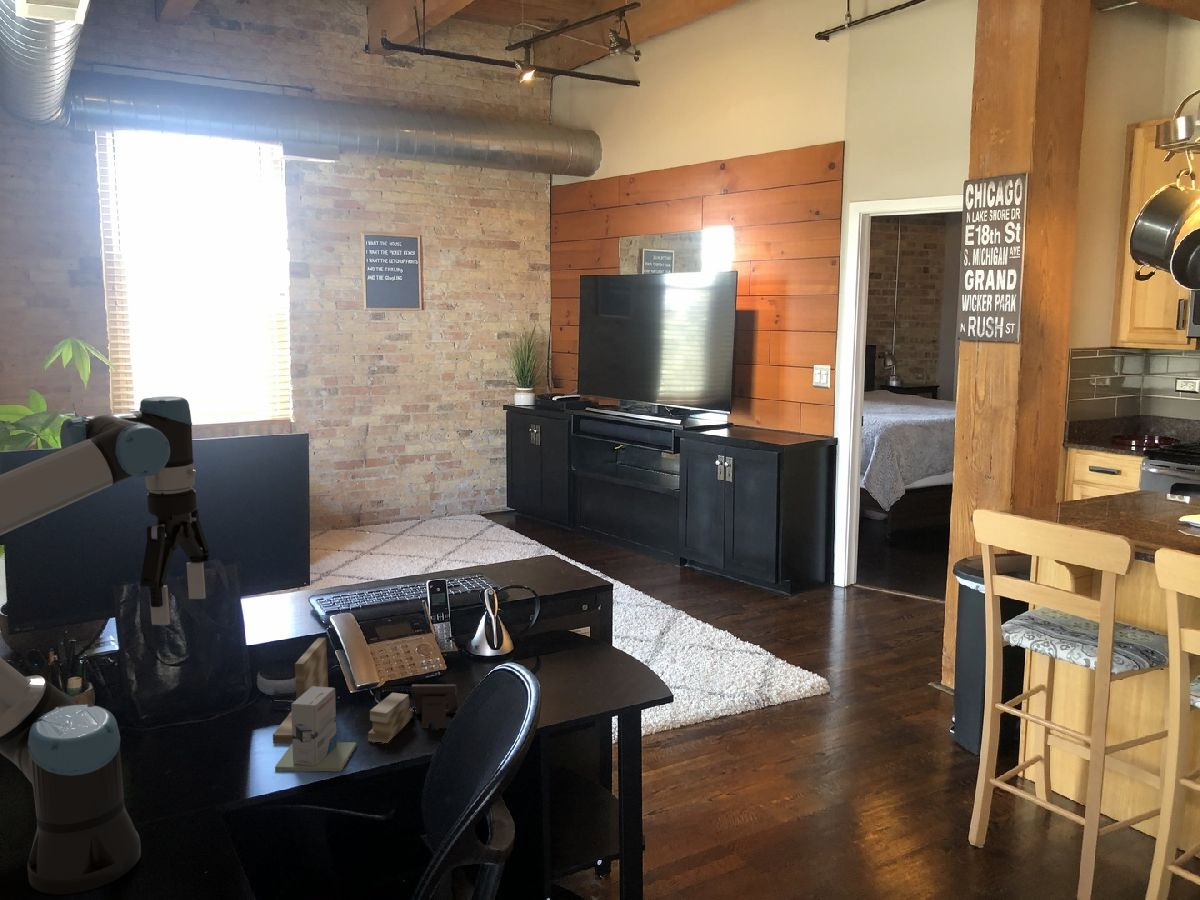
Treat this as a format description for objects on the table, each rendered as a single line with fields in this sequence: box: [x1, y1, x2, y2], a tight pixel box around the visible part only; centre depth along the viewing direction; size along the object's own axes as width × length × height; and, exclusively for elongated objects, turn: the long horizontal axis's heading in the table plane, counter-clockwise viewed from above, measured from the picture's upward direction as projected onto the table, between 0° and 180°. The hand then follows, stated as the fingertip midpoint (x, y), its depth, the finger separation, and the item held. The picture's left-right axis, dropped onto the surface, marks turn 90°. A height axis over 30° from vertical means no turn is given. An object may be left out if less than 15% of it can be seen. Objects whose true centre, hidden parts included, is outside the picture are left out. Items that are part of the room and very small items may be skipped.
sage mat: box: [274, 741, 357, 773], centre depth 182 cm, size 10×12×1 cm
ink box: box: [290, 686, 338, 766], centre depth 181 cm, size 9×5×12 cm, turn 169°
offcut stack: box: [367, 692, 414, 744], centre depth 194 cm, size 12×4×6 cm, turn 167°
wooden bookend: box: [272, 637, 329, 744], centre depth 194 cm, size 14×7×16 cm, turn 178°
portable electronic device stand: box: [410, 683, 460, 729], centre depth 198 cm, size 9×8×8 cm
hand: (179, 610), depth 167 cm, fingers open, 13 cm apart
